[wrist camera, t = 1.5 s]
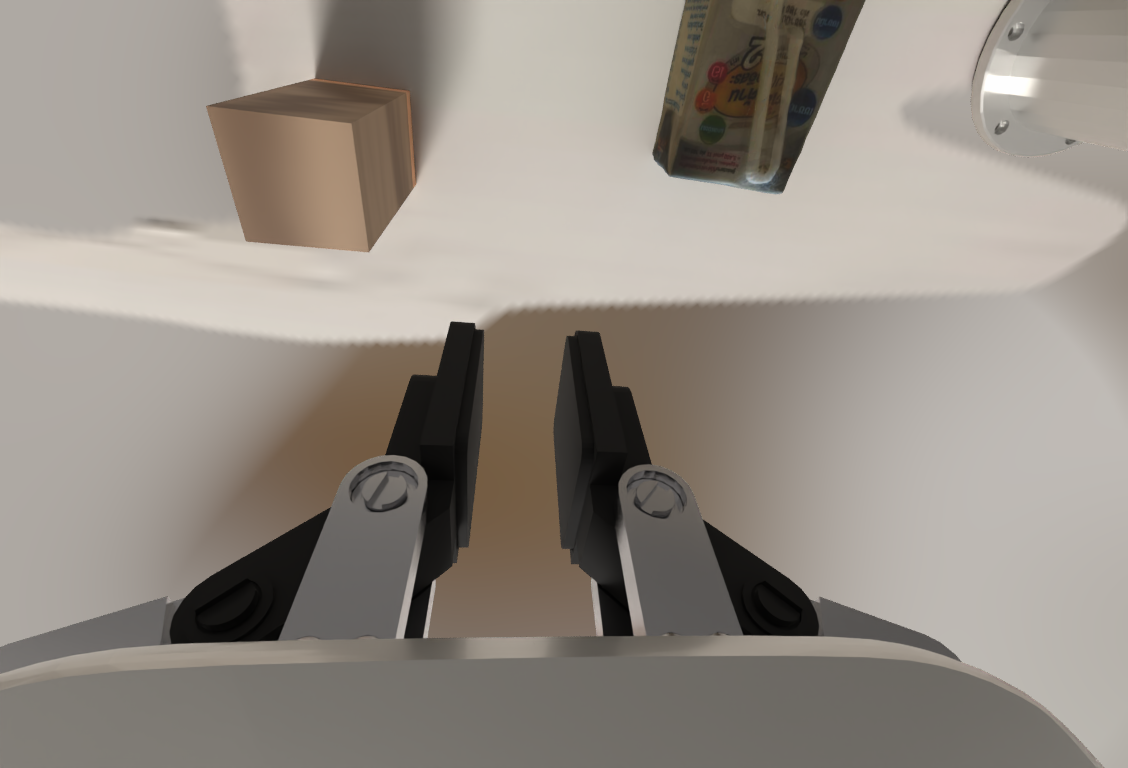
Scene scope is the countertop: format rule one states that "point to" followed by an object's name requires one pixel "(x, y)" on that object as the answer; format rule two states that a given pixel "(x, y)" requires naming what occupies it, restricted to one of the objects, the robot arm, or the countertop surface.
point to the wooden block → (317, 162)
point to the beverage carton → (749, 87)
